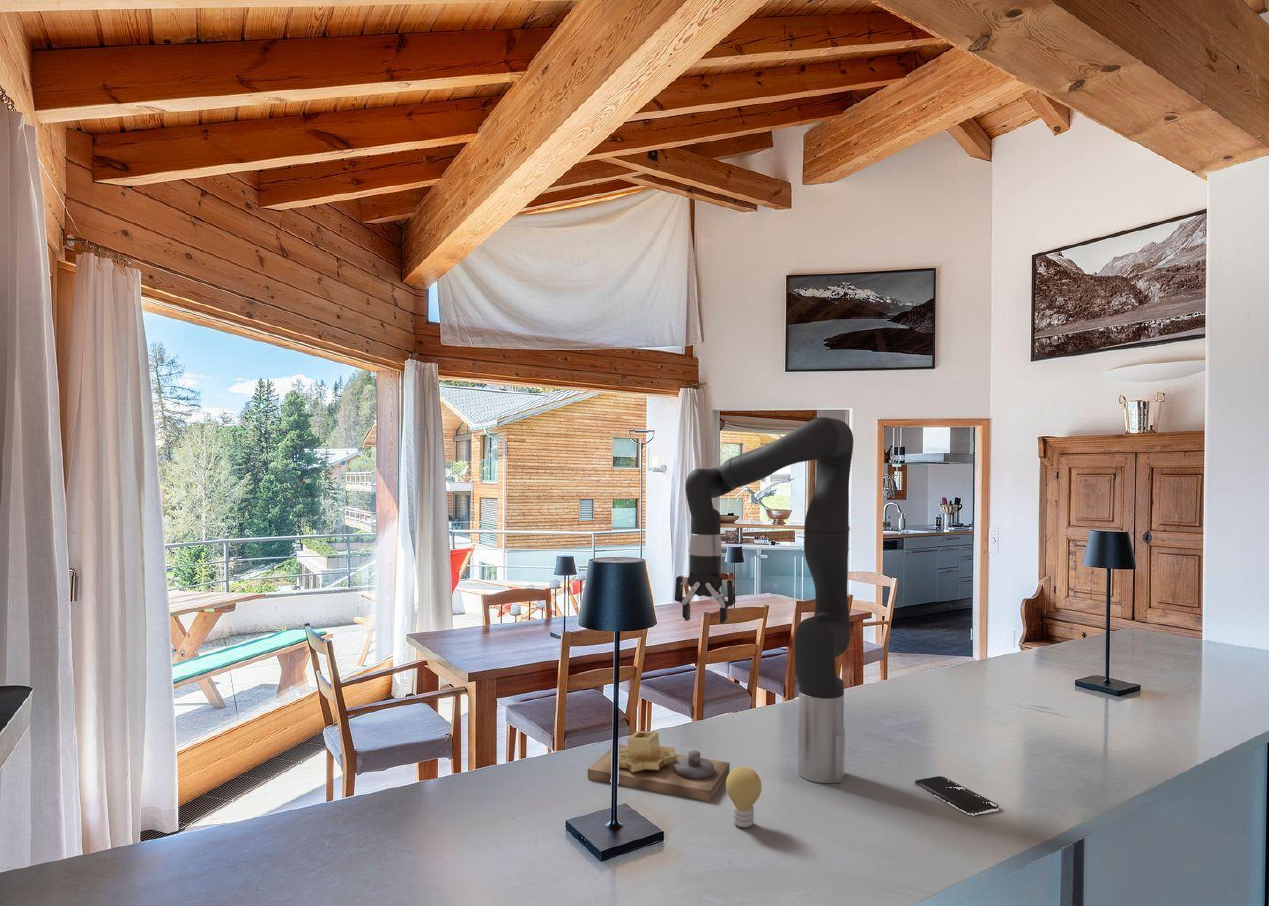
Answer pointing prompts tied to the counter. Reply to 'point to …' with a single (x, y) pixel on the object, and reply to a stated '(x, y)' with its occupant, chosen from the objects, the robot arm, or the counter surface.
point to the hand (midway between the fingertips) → (704, 621)
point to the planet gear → (645, 752)
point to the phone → (955, 794)
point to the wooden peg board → (669, 775)
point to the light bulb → (743, 794)
